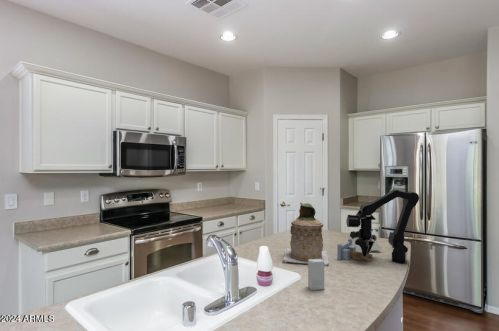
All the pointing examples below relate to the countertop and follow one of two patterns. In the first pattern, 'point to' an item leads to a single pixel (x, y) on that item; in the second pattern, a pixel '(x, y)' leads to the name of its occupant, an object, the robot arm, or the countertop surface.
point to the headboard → (345, 250)
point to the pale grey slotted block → (358, 248)
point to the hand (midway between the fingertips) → (366, 255)
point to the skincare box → (316, 274)
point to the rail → (360, 256)
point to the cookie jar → (306, 238)
